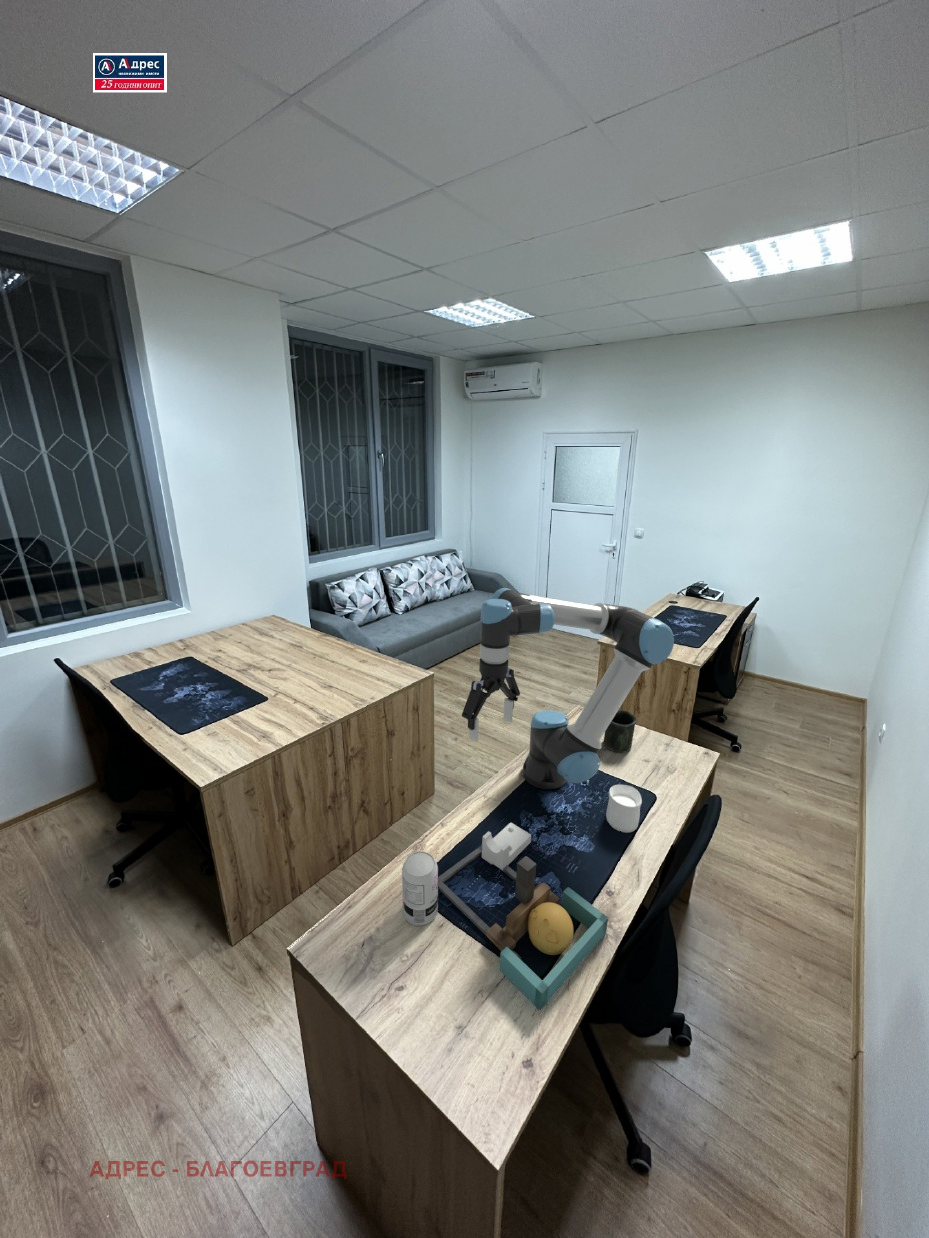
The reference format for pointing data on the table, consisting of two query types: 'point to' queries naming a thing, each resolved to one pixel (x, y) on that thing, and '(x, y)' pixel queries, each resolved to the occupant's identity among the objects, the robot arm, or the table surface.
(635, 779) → the table surface
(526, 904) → the carriage
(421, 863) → the supplement can
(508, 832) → the bracket
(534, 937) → the stress ball
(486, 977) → the table surface
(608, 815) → the cup
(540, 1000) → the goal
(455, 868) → the rails
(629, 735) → the mug
